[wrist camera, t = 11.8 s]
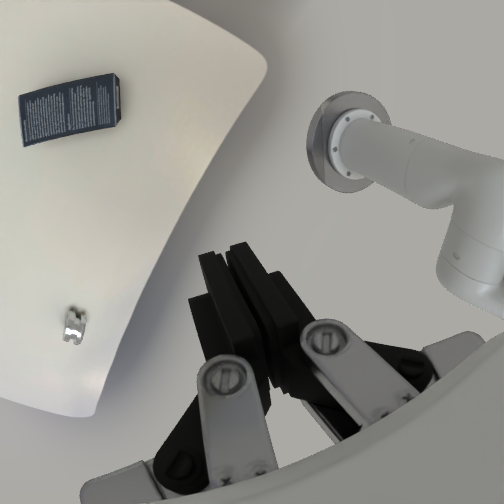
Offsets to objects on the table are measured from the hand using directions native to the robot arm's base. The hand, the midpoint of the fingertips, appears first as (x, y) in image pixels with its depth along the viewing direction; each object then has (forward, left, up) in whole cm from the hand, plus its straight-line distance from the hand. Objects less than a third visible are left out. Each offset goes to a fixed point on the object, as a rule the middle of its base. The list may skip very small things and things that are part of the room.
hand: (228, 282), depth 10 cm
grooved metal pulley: (+22, +22, -30) cm, 43 cm away
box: (+3, -7, -26) cm, 27 cm away
